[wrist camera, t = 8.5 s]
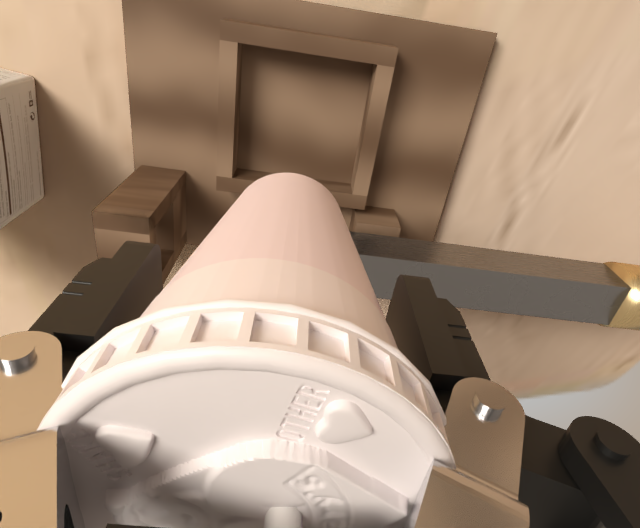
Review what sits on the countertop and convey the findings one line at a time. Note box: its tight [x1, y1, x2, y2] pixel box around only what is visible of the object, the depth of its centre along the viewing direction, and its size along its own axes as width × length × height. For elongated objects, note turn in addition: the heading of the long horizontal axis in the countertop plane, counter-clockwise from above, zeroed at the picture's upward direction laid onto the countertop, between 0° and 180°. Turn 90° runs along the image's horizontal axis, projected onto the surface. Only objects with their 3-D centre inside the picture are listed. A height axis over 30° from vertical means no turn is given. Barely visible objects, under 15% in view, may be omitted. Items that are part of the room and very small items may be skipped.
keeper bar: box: [349, 231, 640, 330], centre depth 29 cm, size 4×23×4 cm, turn 82°
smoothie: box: [37, 173, 456, 528], centre depth 9 cm, size 6×6×14 cm
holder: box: [91, 0, 497, 284], centre depth 27 cm, size 17×22×9 cm
